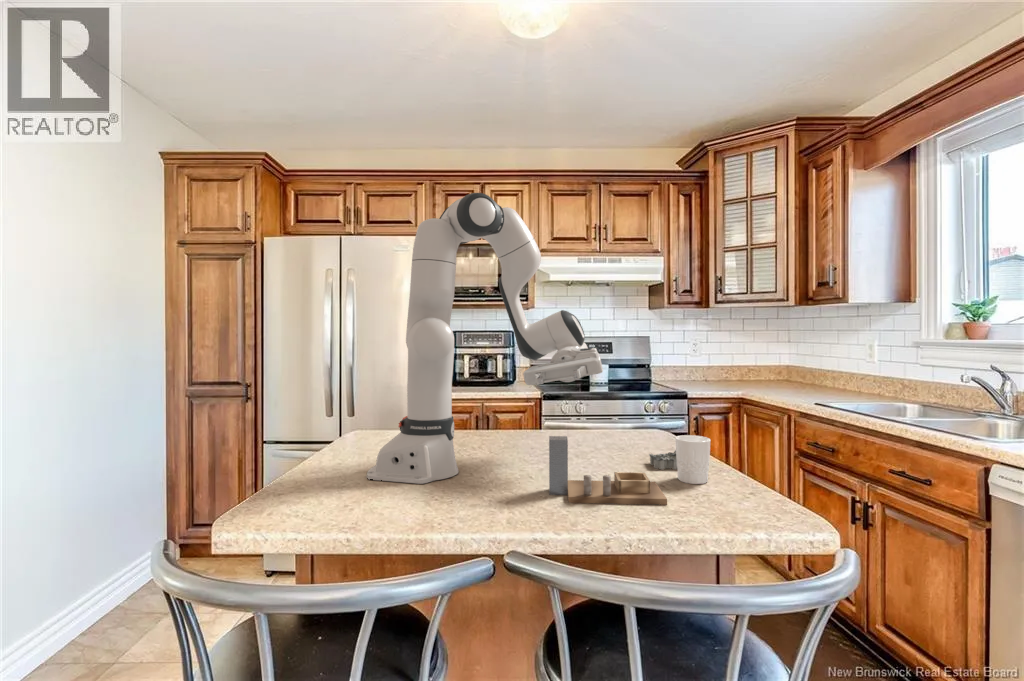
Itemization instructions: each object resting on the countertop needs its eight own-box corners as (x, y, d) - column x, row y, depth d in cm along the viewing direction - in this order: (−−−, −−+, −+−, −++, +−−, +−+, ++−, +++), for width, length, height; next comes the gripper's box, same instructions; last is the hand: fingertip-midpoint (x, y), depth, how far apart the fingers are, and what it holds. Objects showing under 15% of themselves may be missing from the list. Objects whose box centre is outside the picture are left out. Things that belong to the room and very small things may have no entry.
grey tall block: (549, 494, 110) (549, 439, 110) (549, 489, 114) (549, 436, 114) (567, 495, 110) (567, 440, 110) (567, 489, 114) (567, 436, 114)
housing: (568, 502, 105) (568, 477, 105) (566, 485, 117) (566, 462, 117) (667, 504, 104) (667, 479, 103) (655, 486, 116) (655, 464, 115)
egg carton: (687, 463, 137) (687, 448, 137) (696, 471, 130) (696, 455, 130) (647, 463, 138) (648, 448, 138) (654, 470, 130) (654, 454, 130)
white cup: (715, 485, 117) (715, 441, 117) (681, 485, 117) (681, 441, 117) (703, 475, 125) (703, 435, 124) (671, 475, 125) (671, 435, 125)
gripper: (528, 360, 139) (514, 372, 126) (602, 346, 132) (595, 358, 119) (533, 382, 139) (520, 396, 126) (607, 369, 133) (601, 384, 120)
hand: (557, 378), depth 123 cm, fingers open, 8 cm apart
